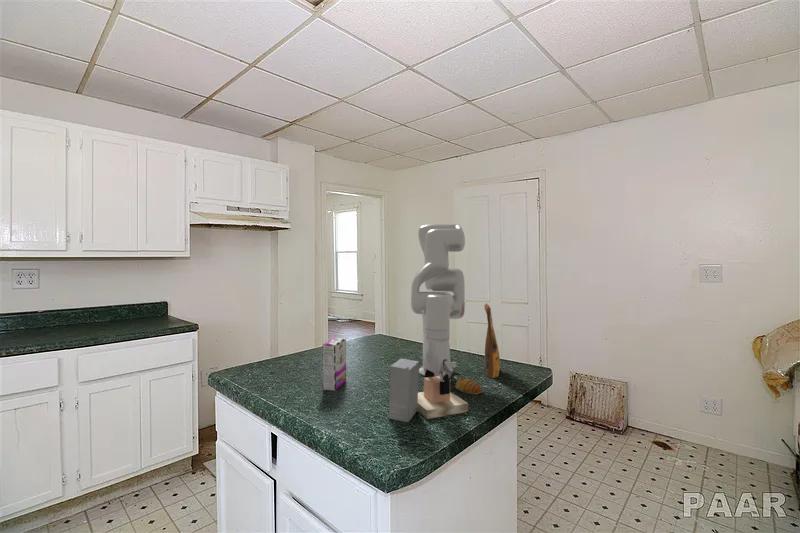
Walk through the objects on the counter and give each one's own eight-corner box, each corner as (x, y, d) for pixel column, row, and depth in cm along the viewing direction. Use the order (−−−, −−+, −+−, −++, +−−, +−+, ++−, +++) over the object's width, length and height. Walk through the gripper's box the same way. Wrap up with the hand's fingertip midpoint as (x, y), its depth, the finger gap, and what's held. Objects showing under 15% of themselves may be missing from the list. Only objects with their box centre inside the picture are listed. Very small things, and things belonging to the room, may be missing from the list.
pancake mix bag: (481, 378, 145) (481, 306, 144) (484, 365, 163) (484, 301, 162) (499, 380, 143) (499, 307, 142) (500, 366, 161) (500, 301, 161)
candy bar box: (333, 380, 141) (334, 337, 141) (346, 381, 140) (346, 337, 140) (321, 390, 130) (322, 343, 130) (335, 391, 129) (335, 344, 129)
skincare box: (398, 408, 115) (398, 357, 115) (420, 412, 112) (420, 360, 112) (387, 419, 107) (387, 364, 107) (410, 423, 104) (410, 367, 104)
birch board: (444, 395, 126) (444, 388, 126) (468, 411, 113) (468, 403, 113) (407, 401, 120) (407, 394, 120) (427, 419, 108) (427, 410, 108)
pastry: (486, 392, 130) (486, 382, 130) (474, 397, 125) (474, 386, 125) (465, 385, 137) (465, 375, 137) (453, 390, 132) (453, 379, 132)
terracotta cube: (423, 396, 118) (424, 377, 118) (440, 394, 121) (440, 375, 121) (432, 403, 113) (433, 383, 113) (450, 400, 115) (450, 381, 115)
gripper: (414, 330, 123) (414, 381, 123) (440, 340, 107) (439, 400, 107) (434, 328, 126) (434, 379, 126) (462, 338, 110) (462, 396, 110)
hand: (436, 388), depth 117 cm, fingers open, 9 cm apart
